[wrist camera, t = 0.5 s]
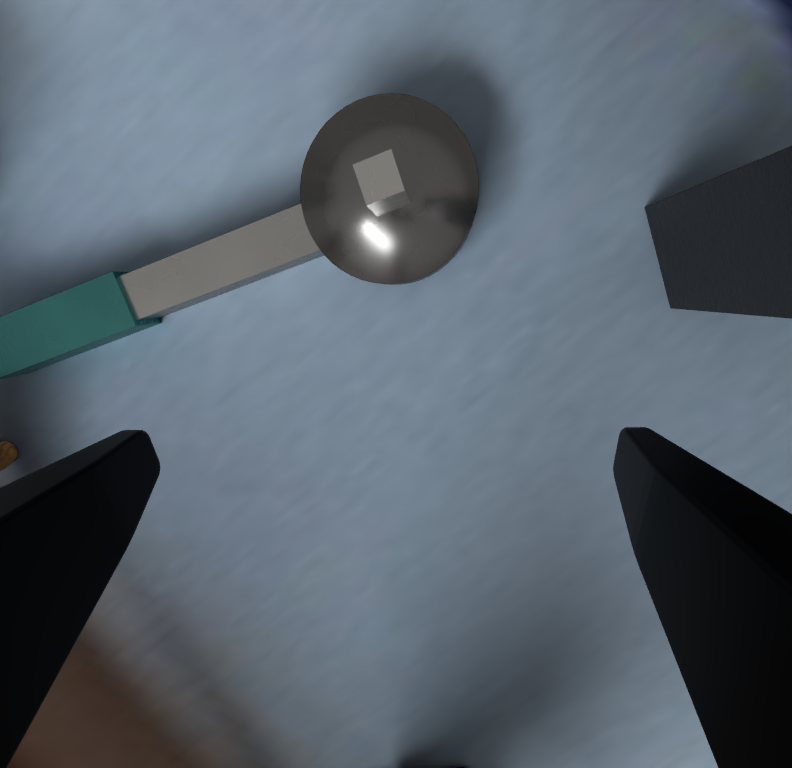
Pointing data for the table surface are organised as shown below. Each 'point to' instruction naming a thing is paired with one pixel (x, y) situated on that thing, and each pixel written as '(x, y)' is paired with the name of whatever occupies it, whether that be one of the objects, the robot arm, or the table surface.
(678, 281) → the charcoal square pillar
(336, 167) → the ratchet
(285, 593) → the table surface
